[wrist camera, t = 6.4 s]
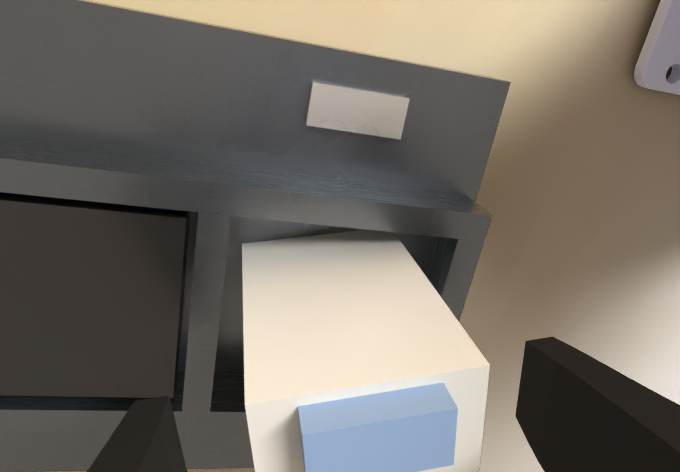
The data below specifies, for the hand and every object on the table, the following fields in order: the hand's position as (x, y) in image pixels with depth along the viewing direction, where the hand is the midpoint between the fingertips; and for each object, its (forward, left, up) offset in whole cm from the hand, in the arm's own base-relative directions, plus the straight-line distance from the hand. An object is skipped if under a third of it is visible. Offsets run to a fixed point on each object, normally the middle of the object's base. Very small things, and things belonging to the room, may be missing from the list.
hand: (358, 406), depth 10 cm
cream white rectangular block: (0, 0, -5) cm, 5 cm away
